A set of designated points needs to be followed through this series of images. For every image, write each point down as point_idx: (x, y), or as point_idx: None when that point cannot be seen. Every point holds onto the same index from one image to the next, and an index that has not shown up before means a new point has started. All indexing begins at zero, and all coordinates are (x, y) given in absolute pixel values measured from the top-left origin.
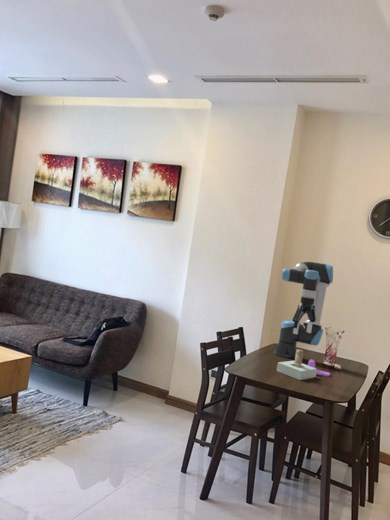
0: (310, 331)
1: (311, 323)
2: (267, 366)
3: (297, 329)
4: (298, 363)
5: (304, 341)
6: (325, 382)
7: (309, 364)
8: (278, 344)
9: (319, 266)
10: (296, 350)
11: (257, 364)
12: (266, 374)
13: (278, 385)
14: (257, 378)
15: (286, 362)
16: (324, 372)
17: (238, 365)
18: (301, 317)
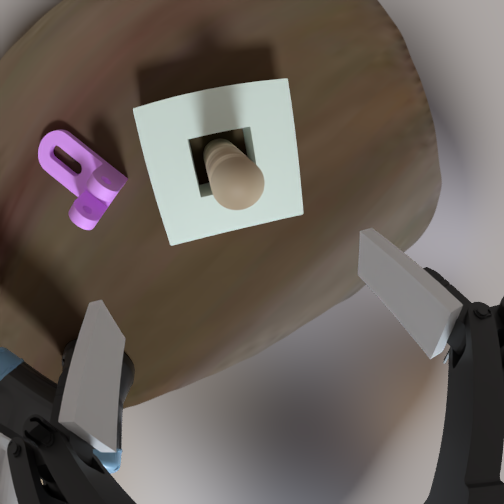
0: (98, 313)
1: (81, 406)
2: (282, 253)
3: (405, 257)
4: (238, 149)
5: (43, 377)
6: (150, 42)
7: (116, 188)
8: (125, 397)
9: None
10: (258, 196)
11: (306, 273)
12: (367, 167)
13: (407, 70)
14: (422, 141)
15: (251, 213)
16: (54, 159)
17: None
18: (479, 398)
